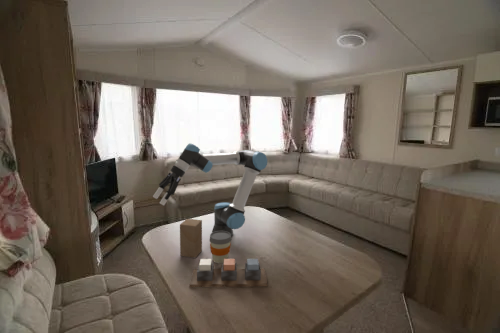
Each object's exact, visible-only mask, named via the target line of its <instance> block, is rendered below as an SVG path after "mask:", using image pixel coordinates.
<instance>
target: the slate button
mask: <svg viewBox="0 0 500 333" xmlns="http://www.w3.org/2000/svg"><path fill="white" fill-rule="evenodd" d="M246 263H247V270H259V264H260V262H259V259H258V258H247V259H246Z"/></svg>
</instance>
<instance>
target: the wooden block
mask: <svg viewBox="0 0 500 333" xmlns="http://www.w3.org/2000/svg"><path fill="white" fill-rule="evenodd" d="M179 246H180V248H179V254H180V257H186V258H193V259H196V258H197V257H198V256H199V254H201V252H202V250H203V220H202V219H194V218H186V219H184V221H182V222H181V223H180V224H179Z"/></svg>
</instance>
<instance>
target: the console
mask: <svg viewBox="0 0 500 333" xmlns="http://www.w3.org/2000/svg"><path fill="white" fill-rule="evenodd" d="M199 264H200V262H199V263H198V266H197V269H196V268H195V269H192V270H193V271H192V274H191V277H190V281H189V288H231V287H232V288H233V287H234V288H235V287H237V288H238V287H239V288H242V287H248V288H249V287H252V288H253V287H268V279H267V274H266V271H265V268H261V266H260V263H259V270H247V262H245V263H244V268H237V266H238V265H237V262H235V271H224V263H221V268H215V267H214V265H215V262H212V268H211V271H199Z"/></svg>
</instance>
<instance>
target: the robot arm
mask: <svg viewBox="0 0 500 333" xmlns="http://www.w3.org/2000/svg"><path fill="white" fill-rule="evenodd" d="M200 150H201V149H200V148H199V147H198V146H197V145H195V144H194V143H191V142H190V143H187V145H186V147H185V148H184V149H183V151H182V152H181V154H180V155H179V157H178V159H175V160H176V162H175V163H174V165H172V167H171V168H170V171H171V172H169V173H167V175H166V176H165V177H164V178H163V180H162V181H160V183H159V184H158V186H159V187H158V188H157V189H156V191H155V193H154V194H153V195H152V197H153V198H154V199H156V200H157V199H159V197H160V195H161V194H162V192H163V191H164V190H165V188H166V187H167V186H168V185H169V186H168V189H167V191H165V192H166V193H165V194H164V195H163V197H162V198H161V199H160V201H159V204H160V205H162V206H165V205H166V203H167V202H168V201H169V199H170V197H171V196H172V195H173V196H174V195H175V193H176V191H177V188H178V186H179V183H180V182H181V178H183V177H184V175H185V174H186V172H187V171H188V169H189V168H190V167H194V168H196V169H199V170H200V171H201V172H203V173H205V174H208V173H209V172H210V171H211V170H212V169H213V166H216V165H217V166H218V165H233V164H234V166H235V165H236V166H237V165H239V166H243V169H244V172H243V175H242V178H241V181H240V183H239V185H238V187H237V190H236V191H235V192H236V193H235V195H234V197H233V200H232V202H218V203H215V204H214V209H213V210H214V223H213V228H212V231H211V233H213V232H215V231H227V232H229V233H230V234H231V237H233V235H234V230H238V229H240V228H241V227H243V225H244V224H245V222H246V216H245V212H246V210H245V206H246V204H247V201H248V199H249V196H250V194H251V191H252V188H253V185H254V183H255V180H256V178H257V176H258V175H259V174H260V173H261V172H262V170H265V169H266V167H267V166H268V158H267V156H266V154H265V153H264V152H262V151H259V150H251V149H246V150H235V151H233V152H222V153H219V152H218V153H205V154H203V153H200Z"/></svg>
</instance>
